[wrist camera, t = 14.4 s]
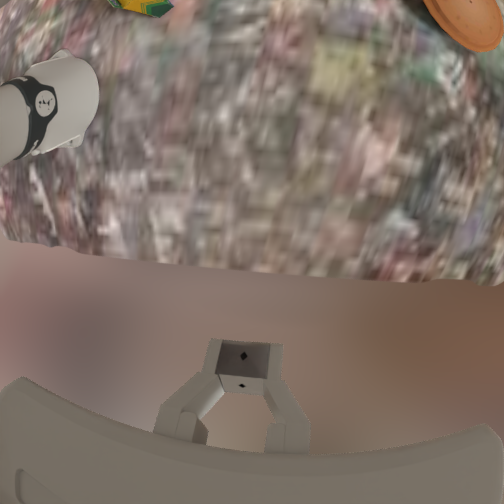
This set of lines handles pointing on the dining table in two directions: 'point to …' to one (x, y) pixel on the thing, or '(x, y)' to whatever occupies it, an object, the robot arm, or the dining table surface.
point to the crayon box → (144, 6)
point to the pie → (469, 22)
